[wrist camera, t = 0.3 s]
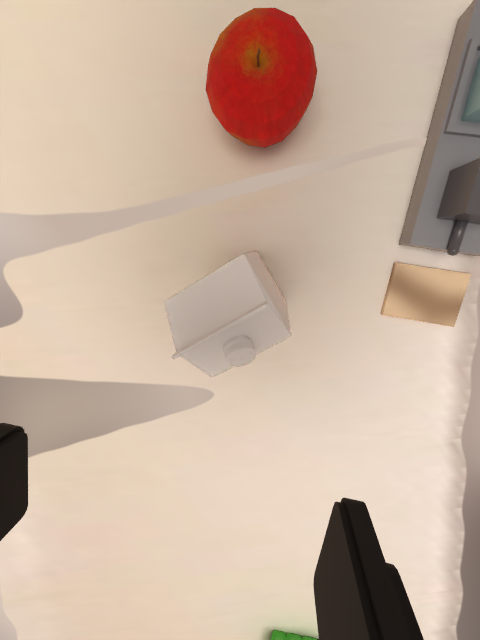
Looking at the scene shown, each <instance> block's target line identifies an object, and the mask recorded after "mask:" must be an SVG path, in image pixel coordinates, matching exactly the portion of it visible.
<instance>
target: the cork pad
mask: <svg viewBox="0 0 480 640" xmlns="http://www.w3.org/2000/svg"><path fill="white" fill-rule="evenodd" d="M470 276H471V274H467V273H460V272H454V271H447V270H441V269H434V268H428V267H421V266H415V265H408V264H402V263H395V262H394V265H393V269H392V273H391V277H390V280H389V284H388V288H387V292H386V296H385V299H384V303H383V307H382V311H381V314H382V315H386V316H392V317H398V318H404V319H410V320H416V321H422V322H428V323H434V324H440V325H446V326H452V327H454V325H455V322H456V319H457V316H458V313H459V310H460V307H461V304H462V301H463V298H464V295H465V292H466V288H467V285H468V282H469V279H470Z"/></svg>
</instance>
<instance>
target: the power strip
mask: <svg viewBox="0 0 480 640" xmlns="http://www.w3.org/2000/svg"><path fill="white" fill-rule="evenodd" d="M479 57H480V0H474V1H473V2H472V3H471V5H470V6H469V7H468V8H467V10H466V11H465V12H464V13H463V15H462V16H461V17H460V18H459V20H458V23H457V27H456V31H455V34H454V38H453V42H452V46H451V49H450V53H449V57H448V61H447V65H446V68H445V72H444V76H443V80H442V84H441V87H440V91H439V95H438V99H437V102H436V106H435V110H434V114H433V118H432V121H431V125H430V129H429V133H428V137H427V140H426V144H425V148H424V152H423V155H422V159H421V163H420V167H419V171H418V174H417V178H416V182H415V186H414V190H413V193H412V197H411V201H410V205H409V208H408V212H407V216H406V220H405V224H404V227H403V231H402V235H401V239H400V243H399V244H400V245H407V246H414V247H420V248H427V249H434V250H440V251H447V253H448V254H449V255H456V254H457V253H460V254H467V255H474V256H480V123H476V122H468V121H461V118H462V115H463V111H464V108H465V104H466V100H467V97H468V93H469V90H470V86H471V83H472V79H473V76H474V72H475V69H476V65H477V62H478V58H479Z"/></svg>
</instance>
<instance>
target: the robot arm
mask: <svg viewBox="0 0 480 640" xmlns="http://www.w3.org/2000/svg"><path fill="white" fill-rule="evenodd" d="M27 507H28V437H27V434H26V433H24V429H23V428H22V427H20V426H15V425H11V424H6V423H0V541H1V540H2V539H3V538H4V537H5V535H6V534H7V533H8V532H9V531H10V530H11V529H12V528H13V527H14V526H15V525H16V524H17V523H18V522H19V521H20V519H21V518H22V517H23V516H24V514H25V512H26V510H27ZM314 595H315V605H316V614H317V624H318V633H319V640H424V639H423V636H422V634H421V631H420V628H419V626H418V623H417V620H416V617H415V615H414V612H413V609H412V607H411V604H410V601H409V599H408V596H407V593H406V591H405V588H404V585H403V582H402V580H401V577H400V575H399V573H398V570H397V569H396V567H395V566H394V565H392V564H389V563H386V562H385V559H384V556H383V553H382V550H381V548H380V545H379V542H378V539H377V536H376V533H375V530H374V527H373V524H372V521H371V518H370V515H369V512H368V509H367V507H366V504H365V503H364V502H362V501H357V500H352V499H348V498H343V499H342V500H341V503H340V502H335V503H334V506H333V510H332V513H331V517H330V520H329V524H328V528H327V531H326V535H325V538H324V542H323V545H322V549H321V553H320V556H319V560H318V563H317V567H316V570H315V575H314Z"/></svg>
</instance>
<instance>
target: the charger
mask: <svg viewBox="0 0 480 640" xmlns="http://www.w3.org/2000/svg"><path fill="white" fill-rule="evenodd" d="M461 121H468V122H476V123H480V57H479V58H478V62H477V65H476V69H475V72H474V76H473V79H472V83H471V86H470V90H469V93H468V97H467V100H466V104H465V108H464V111H463V115H462V118H461Z"/></svg>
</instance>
